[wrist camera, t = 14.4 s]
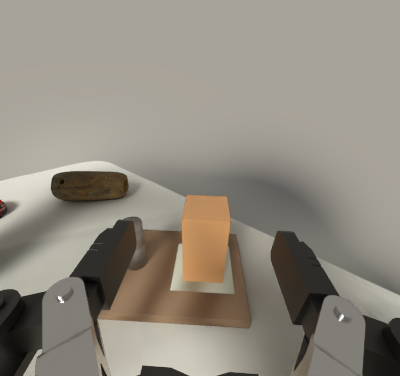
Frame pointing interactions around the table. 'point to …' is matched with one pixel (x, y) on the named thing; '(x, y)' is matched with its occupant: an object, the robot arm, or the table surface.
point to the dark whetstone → (89, 185)
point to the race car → (2, 207)
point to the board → (177, 286)
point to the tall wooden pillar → (205, 238)
